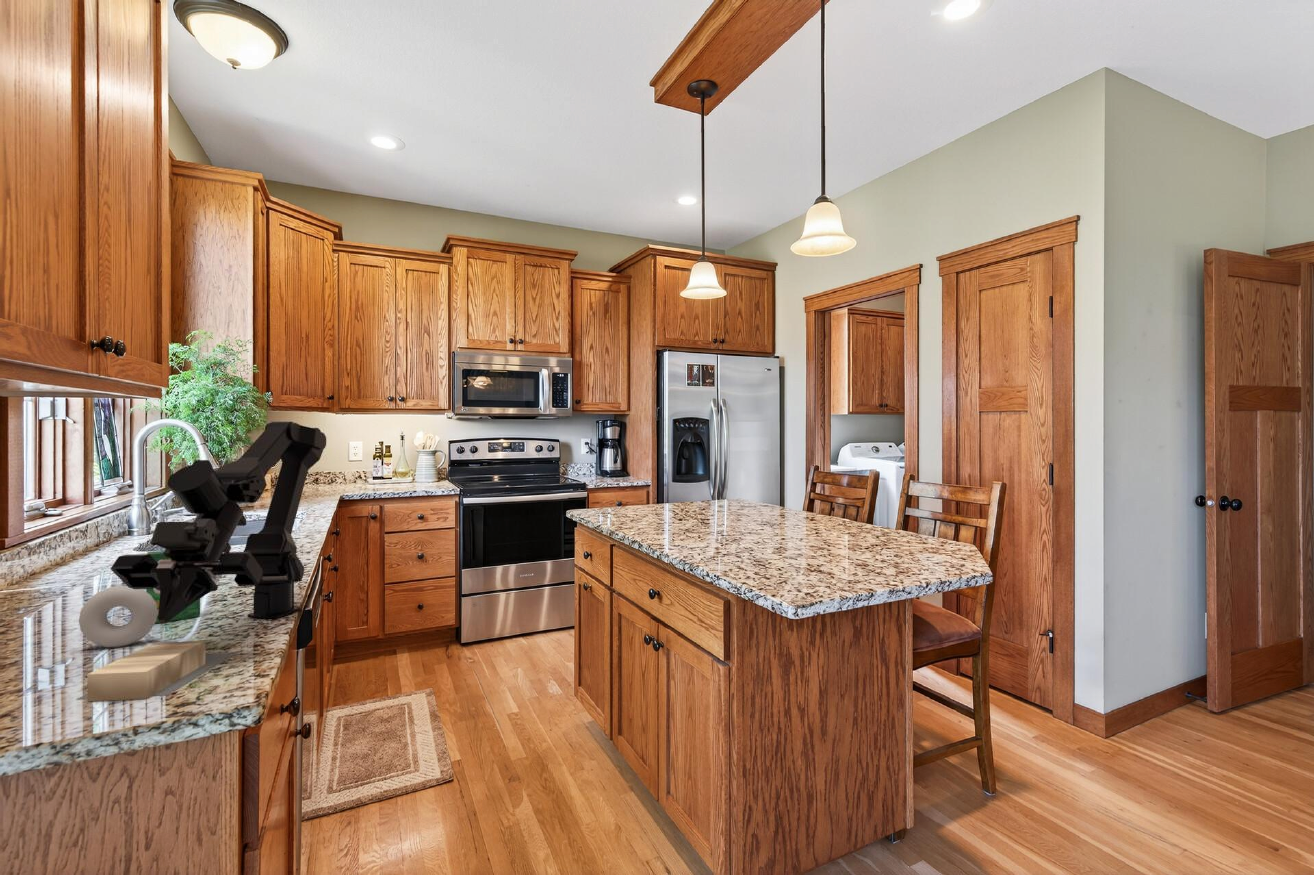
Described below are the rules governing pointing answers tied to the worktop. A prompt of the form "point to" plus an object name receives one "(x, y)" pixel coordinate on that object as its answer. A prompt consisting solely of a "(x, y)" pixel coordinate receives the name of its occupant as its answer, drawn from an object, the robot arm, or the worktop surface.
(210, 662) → the rubber mat
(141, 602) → the donut
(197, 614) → the coffee box
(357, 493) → the worktop surface
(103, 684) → the birch block
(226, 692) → the worktop surface
